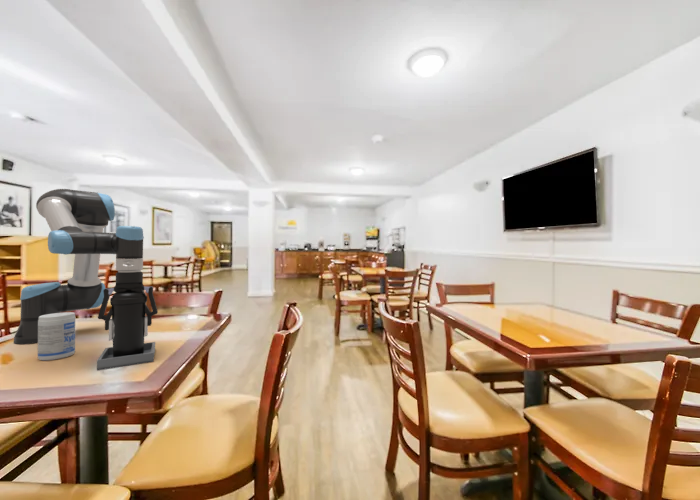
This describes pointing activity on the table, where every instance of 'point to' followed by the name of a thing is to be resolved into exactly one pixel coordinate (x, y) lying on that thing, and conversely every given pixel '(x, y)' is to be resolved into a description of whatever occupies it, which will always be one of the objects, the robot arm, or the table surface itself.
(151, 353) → the tray
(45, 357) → the supplement tub
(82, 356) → the table surface
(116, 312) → the water bottle
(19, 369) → the table surface
